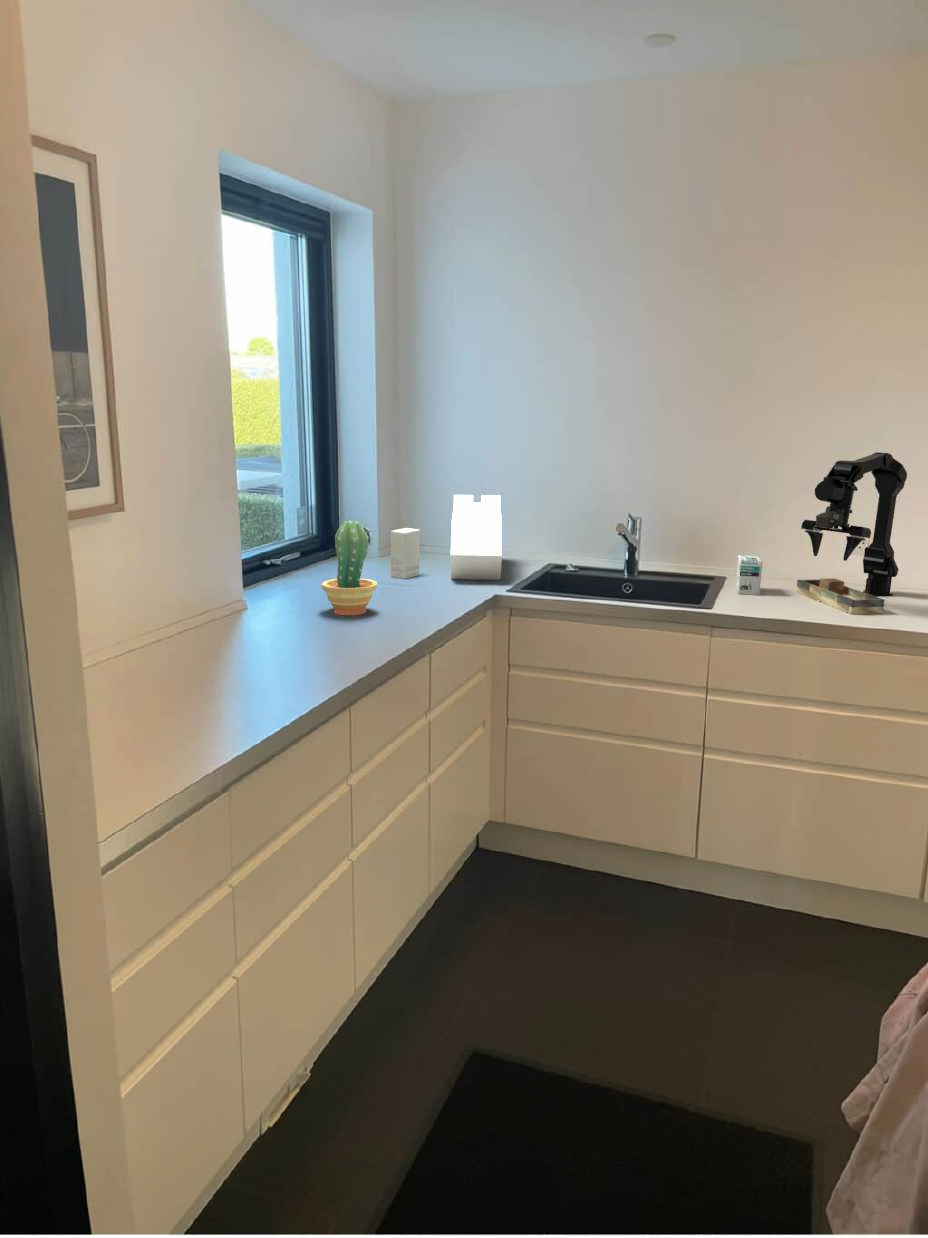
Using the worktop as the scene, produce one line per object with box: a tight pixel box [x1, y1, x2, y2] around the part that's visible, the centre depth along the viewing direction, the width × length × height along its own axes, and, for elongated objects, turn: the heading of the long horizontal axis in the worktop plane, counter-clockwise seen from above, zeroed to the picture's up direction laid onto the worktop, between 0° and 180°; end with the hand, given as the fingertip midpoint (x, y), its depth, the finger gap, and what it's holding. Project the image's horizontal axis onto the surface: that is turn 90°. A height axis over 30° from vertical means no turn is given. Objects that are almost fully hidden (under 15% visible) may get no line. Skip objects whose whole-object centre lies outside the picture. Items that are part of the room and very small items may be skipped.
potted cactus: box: [321, 520, 378, 616], centre depth 252 cm, size 15×15×25 cm
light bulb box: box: [735, 554, 763, 596], centre depth 289 cm, size 11×7×11 cm, turn 168°
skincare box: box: [390, 527, 421, 580], centre depth 304 cm, size 8×7×16 cm
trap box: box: [795, 578, 886, 615], centre depth 276 cm, size 10×30×4 cm, turn 10°
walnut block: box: [819, 577, 845, 595], centre depth 279 cm, size 5×5×4 cm
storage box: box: [449, 494, 503, 581], centre depth 312 cm, size 26×16×35 cm
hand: (829, 558), depth 268 cm, fingers open, 9 cm apart
